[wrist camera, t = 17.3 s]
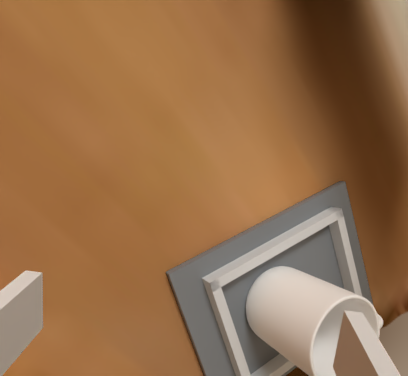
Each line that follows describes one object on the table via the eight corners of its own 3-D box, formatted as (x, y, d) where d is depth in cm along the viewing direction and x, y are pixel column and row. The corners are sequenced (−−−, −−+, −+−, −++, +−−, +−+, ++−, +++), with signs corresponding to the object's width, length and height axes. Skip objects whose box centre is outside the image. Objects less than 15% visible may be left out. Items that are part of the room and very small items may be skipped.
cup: (245, 267, 39) (314, 302, 30) (329, 258, 44) (410, 285, 35) (240, 343, 39) (307, 400, 30) (325, 326, 45) (402, 369, 36)
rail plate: (340, 181, 45) (356, 182, 43) (369, 306, 49) (384, 313, 47) (165, 272, 36) (175, 279, 33) (219, 417, 40) (231, 432, 38)
